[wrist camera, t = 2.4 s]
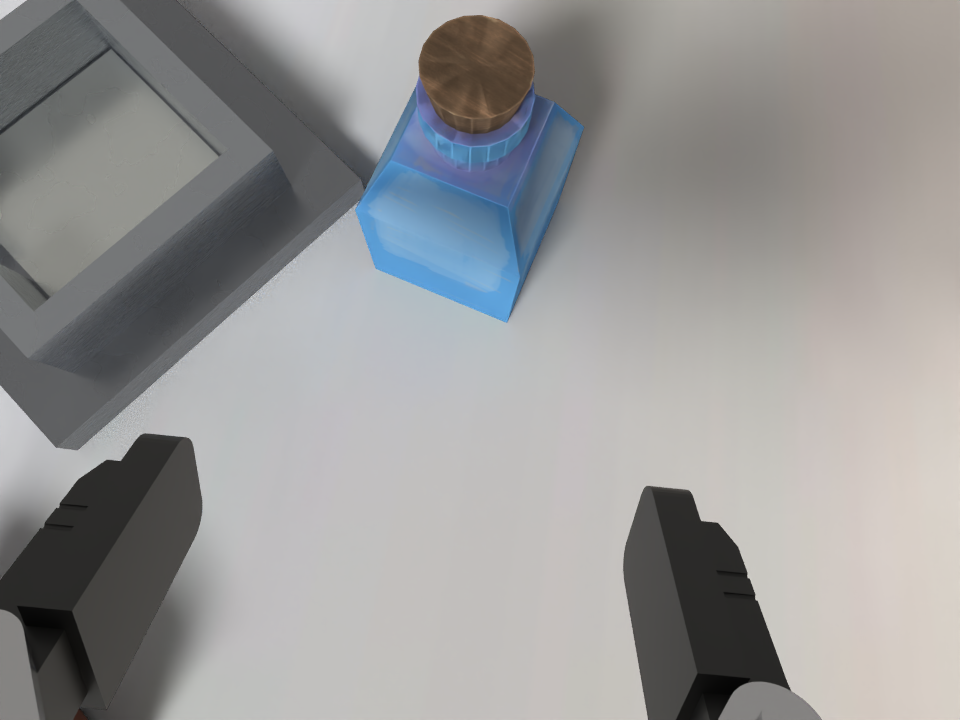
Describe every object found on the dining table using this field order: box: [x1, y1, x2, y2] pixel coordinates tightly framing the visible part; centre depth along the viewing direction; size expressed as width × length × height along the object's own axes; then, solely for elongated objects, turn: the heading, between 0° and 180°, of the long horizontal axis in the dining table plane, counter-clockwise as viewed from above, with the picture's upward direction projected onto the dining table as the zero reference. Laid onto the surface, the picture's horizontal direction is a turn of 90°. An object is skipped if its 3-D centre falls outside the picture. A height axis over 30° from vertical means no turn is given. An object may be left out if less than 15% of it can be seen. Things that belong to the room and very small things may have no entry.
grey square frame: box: [0, 0, 364, 450], centre depth 28 cm, size 16×15×4 cm
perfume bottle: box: [355, 15, 584, 323], centre depth 24 cm, size 6×6×12 cm
